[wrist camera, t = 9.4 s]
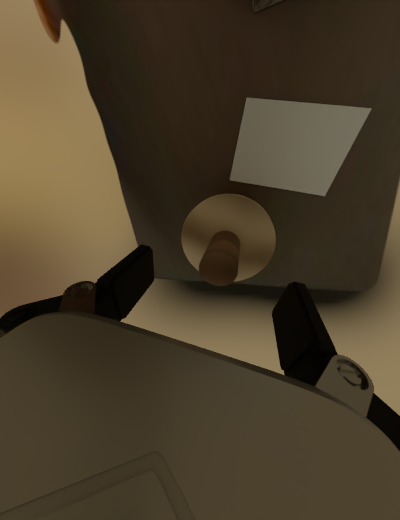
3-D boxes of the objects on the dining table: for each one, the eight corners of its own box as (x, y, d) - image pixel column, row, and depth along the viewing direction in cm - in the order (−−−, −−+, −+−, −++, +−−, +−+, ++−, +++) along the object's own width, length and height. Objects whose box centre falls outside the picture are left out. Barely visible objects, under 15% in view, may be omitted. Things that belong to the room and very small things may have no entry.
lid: (187, 185, 16) (159, 194, 11) (291, 203, 14) (315, 224, 9) (181, 265, 21) (161, 296, 16) (256, 285, 20) (259, 325, 15)
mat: (246, 99, 21) (246, 97, 21) (368, 109, 19) (371, 108, 19) (229, 179, 27) (229, 180, 26) (323, 195, 24) (324, 196, 24)
